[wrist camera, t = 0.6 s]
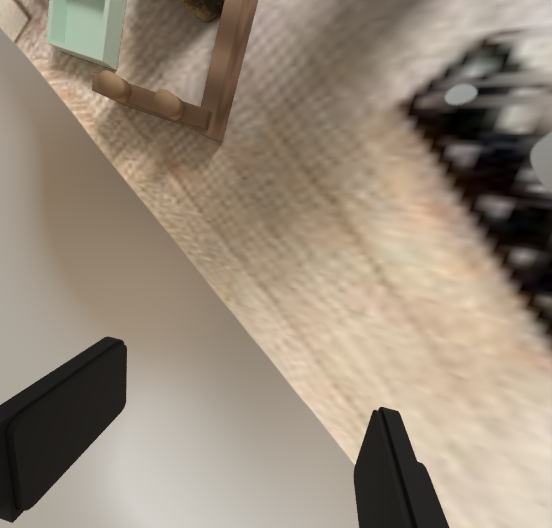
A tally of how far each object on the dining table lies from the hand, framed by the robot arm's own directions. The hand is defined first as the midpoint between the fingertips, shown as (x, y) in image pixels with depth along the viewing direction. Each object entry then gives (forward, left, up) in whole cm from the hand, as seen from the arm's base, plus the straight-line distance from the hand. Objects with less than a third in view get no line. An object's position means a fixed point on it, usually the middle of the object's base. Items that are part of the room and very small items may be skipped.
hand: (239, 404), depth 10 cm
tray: (-19, -36, -30) cm, 50 cm away
